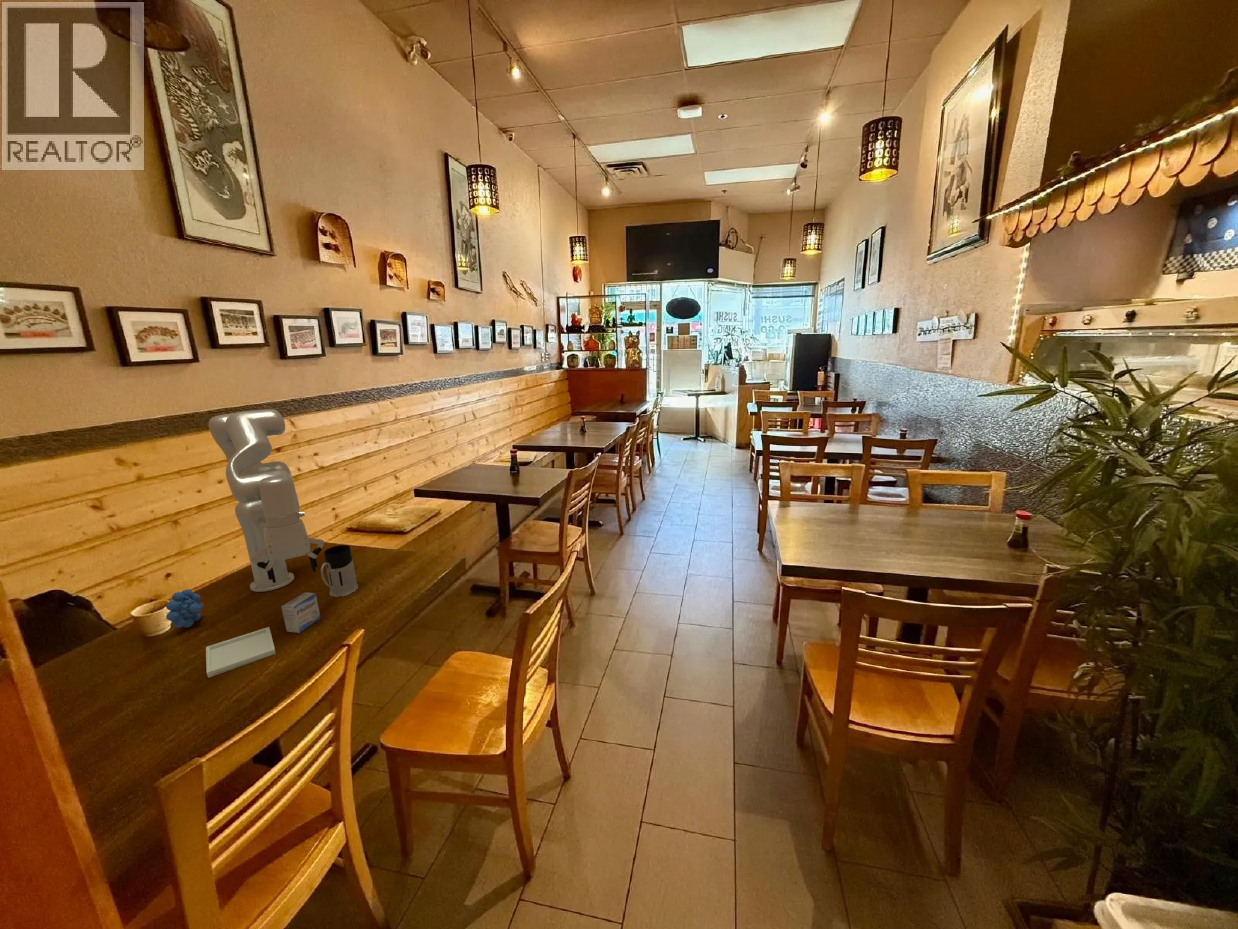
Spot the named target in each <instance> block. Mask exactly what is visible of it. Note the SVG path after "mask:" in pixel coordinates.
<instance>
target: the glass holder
mask: <svg viewBox="0 0 1238 929" xmlns="http://www.w3.org/2000/svg"><path fill="white" fill-rule="evenodd" d="M351 550H352V549H351V546H350V545H348V544H347V545H346V544H341V545H340V544H339V545H335V546H331V547H329V548H327V549H325V550H324V552H323V553H324V554H323V555H324V559H325V562H324V563H322V565H321V567H320V575H321V576H320V577H321V579H322V582H323V583H324V585H325V586H326V587H328V588H329V596H330V597H332V596H334V597H333V598H340V597H339V596H342V597H345V596H349V594H350V595H352V594H353V593H352V592H354V593H355V591H356V589H358V586H359V584H358V583H357V576H356V571H355V564H354V559H353V556H352V552H351ZM324 567H325V569H326V573H327V579H328V582H327V581H326V578H325V574H324ZM358 590H359V589H358ZM356 592H357V591H356ZM351 593H352V594H351Z"/></svg>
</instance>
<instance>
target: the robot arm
mask: <svg viewBox="0 0 1238 929" xmlns="http://www.w3.org/2000/svg"><path fill="white" fill-rule="evenodd" d="M208 429H209V431H210V434H211V436H212V438H213V440H214V441H215V443H216V444H217V446H219V448H220V449H221V451H222V452H223V454H224V455H225V459H226V460H227V465H226V466H225V477H226V481H227V484H228V486H229V490H230V492H231V494H232V496H233V498H234V499H235V500H236V501H237V502H238V503H237V504H236V505H235V507H234V512H235V516H236V519H237V521H238V523H239V526H240V528H241V530H242V533H243V537H244V540H245V545H246V549H247V553H248V558H249V563H250V567H251V571H252V576H253V580H254V581H252V582H251V583H250V584H249V588H250V589H249V590H251V591H252V592H257V593H262V592H269V591H274V590H277V589H280V588H282V587H285V586H288V585H290V583H292V582H293V581H294V580H295V575H294V573H293V572H290V571H289V572H288V568H287V562H286V560H290V559H295V558H299V557H302V556H305V555H306V556H308V558H309V564H310V569H311V571H312V572H313V573H314V572H316V571H317V570H316V568H318V566H319V565H318V561H317V557H318V556H319V554H320V553H321V552H322V551H323V550H322V549H323V548H324V544H325V540H324V539H319V538H314V537H309V536H308V535H309V534H308V532H307V529H306V526H305V524H304V521H303V519H301V518H302V517H305V516H306V515H305V511H301V510H300V509H301V508H300V502H299V499H298V498H299V497H298V495H297V491H296V487H295V482H294V478H293V475H292V472H291V469H290V468H289V466H288V465H287V464H286V463H285V462H284V461H269V462H263V463H262V461H264V460H266V459H267V458H268V457H269V456H270V455H271V453H272V452H273V447H272V446H273V445H272V444H271V441H270V440H269V438H268V437H271V436H272V437H273V436H280V435H282V434H284V433H285V431H286V422H285V419H284V417H283V415H282V414H281V413H280V412H279V411H278V410H276V409H272V408H267V409H254V410H246V411H245V410H244V411H236V412H234V413H232V412H231V413H225V414H220V415H216V416H212V417H211V418H210V419H209V420H208ZM311 544H315V545H316V547H315V548H314V549H313V550H312V548H311Z"/></svg>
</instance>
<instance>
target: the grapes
mask: <svg viewBox="0 0 1238 929" xmlns="http://www.w3.org/2000/svg"><path fill="white" fill-rule="evenodd" d="M171 599H172V600H170V601H168V602H166V604H165V608H166V610H168V611H169V612H167V613H166V615H165V618H166V619H167V620H168V621H169V622H172V626H173V627H174V628H178V629H179V628H182V627H183V628H190V627H192V626H193V625H194V624H195V622H197V621H199V620H200V619H201V617H202V614H201V613H200V612H201V611H202V610H203V608H204V607H205V606H204V604H203V603H202V602H200V600H201V599H202V598H201V596H200V594H199V593H195V592H193V591H192V590H191V589H188V588H187V589H184V590H182V591H177V592H175V593H173V594H172V596H171Z"/></svg>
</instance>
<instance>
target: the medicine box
mask: <svg viewBox="0 0 1238 929" xmlns="http://www.w3.org/2000/svg"><path fill="white" fill-rule="evenodd" d="M318 604H319V602H318V598H317V594H316V593H315V592H303V593H301V594H299V595H298V596H295V597H294V598H293V599H291V600H289V601H288V602H286V603H284V604H282V605H281V606H280V607H281V611H282V616H283V620H284V625H285V629H286V632H287V633H297V634H301V633H302V632H303V631H304V630H306V629H307V628H309V627H311V626H312V625H313V624H314V623H316V622H317V621H319V620H320V619H321V612H320V608H319V605H318Z"/></svg>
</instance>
